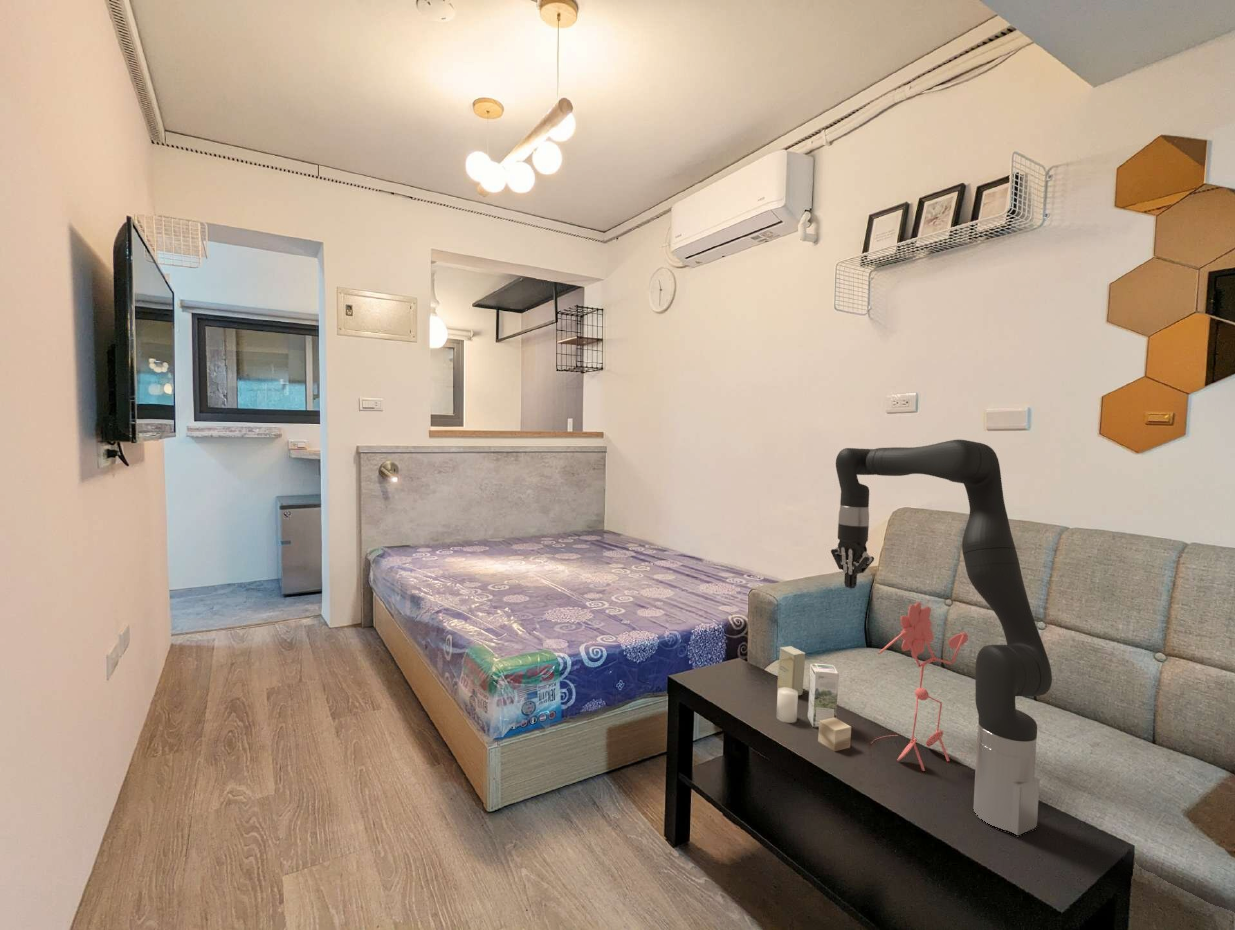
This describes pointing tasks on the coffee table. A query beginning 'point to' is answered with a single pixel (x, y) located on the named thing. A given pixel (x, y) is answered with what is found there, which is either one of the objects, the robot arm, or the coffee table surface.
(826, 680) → the syrup box
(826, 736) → the birch block
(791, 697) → the ceramic cylinder
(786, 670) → the skincare box
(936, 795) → the coffee table surface
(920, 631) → the pink stick figure
